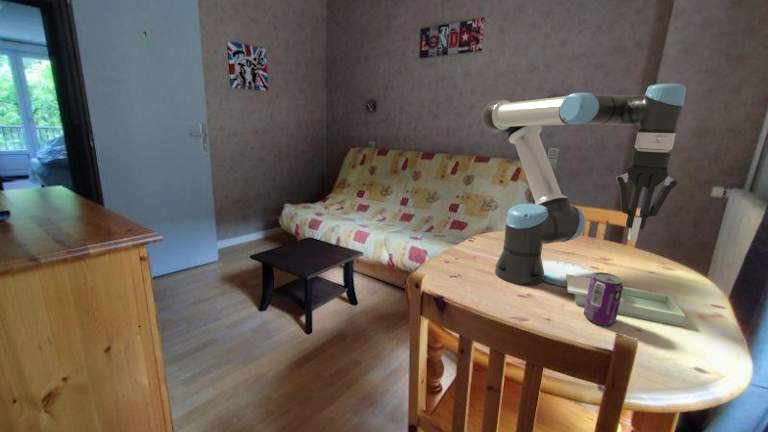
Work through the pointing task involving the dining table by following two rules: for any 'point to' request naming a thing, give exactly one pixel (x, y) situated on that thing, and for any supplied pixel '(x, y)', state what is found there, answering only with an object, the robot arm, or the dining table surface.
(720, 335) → the dining table surface
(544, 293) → the dining table surface
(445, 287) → the dining table surface
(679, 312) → the serving tray
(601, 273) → the beverage can
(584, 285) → the lid
